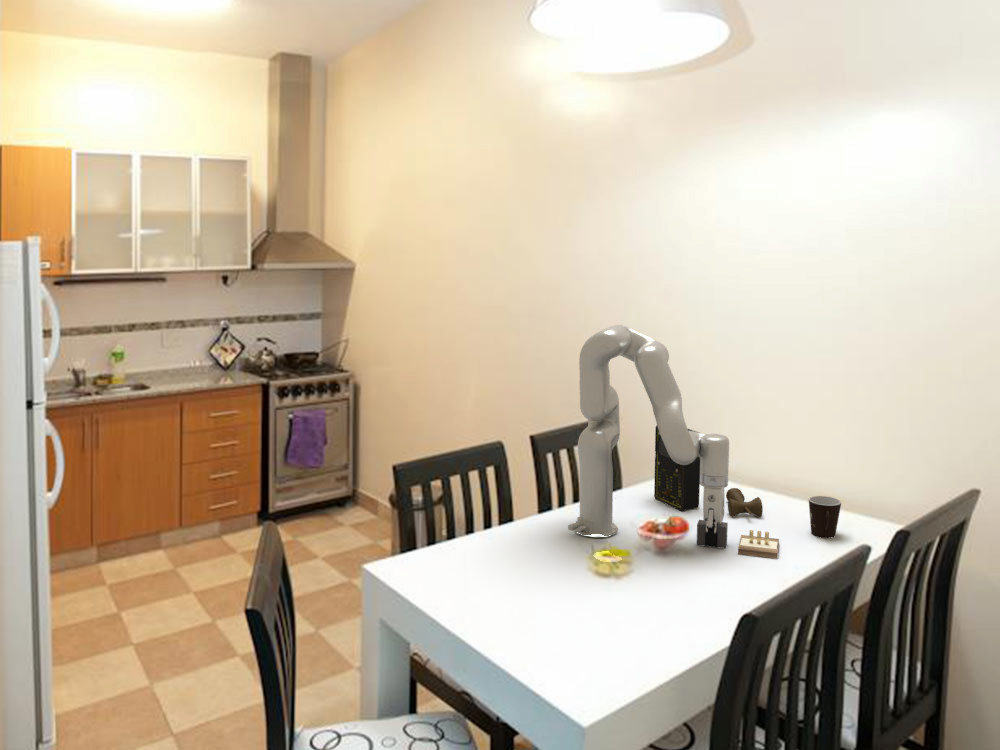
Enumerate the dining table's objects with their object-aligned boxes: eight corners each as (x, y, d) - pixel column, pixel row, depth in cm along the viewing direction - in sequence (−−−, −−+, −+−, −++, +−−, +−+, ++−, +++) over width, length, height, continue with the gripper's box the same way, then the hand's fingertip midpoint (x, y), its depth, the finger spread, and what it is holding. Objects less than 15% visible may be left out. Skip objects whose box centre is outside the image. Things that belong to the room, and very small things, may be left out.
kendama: (748, 503, 257) (766, 523, 237) (718, 504, 257) (734, 524, 237) (748, 485, 256) (767, 503, 236) (718, 486, 256) (734, 504, 236)
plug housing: (725, 548, 218) (726, 527, 217) (696, 545, 220) (697, 524, 219) (727, 543, 221) (727, 522, 220) (698, 540, 224) (698, 519, 223)
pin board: (777, 558, 210) (778, 540, 209) (737, 554, 213) (738, 536, 213) (778, 544, 220) (779, 526, 219) (740, 539, 224) (741, 522, 223)
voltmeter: (650, 498, 261) (652, 424, 257) (672, 495, 264) (674, 421, 260) (680, 513, 247) (682, 434, 242) (702, 508, 250) (705, 431, 246)
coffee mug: (812, 526, 233) (814, 493, 231) (843, 533, 228) (845, 499, 226) (798, 538, 224) (800, 504, 223) (830, 545, 219) (832, 510, 217)
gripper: (725, 489, 209) (723, 555, 212) (730, 472, 224) (728, 534, 227) (696, 486, 211) (694, 552, 214) (703, 470, 227) (701, 531, 230)
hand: (711, 542), depth 221 cm, fingers closed on plug housing, 4 cm apart
